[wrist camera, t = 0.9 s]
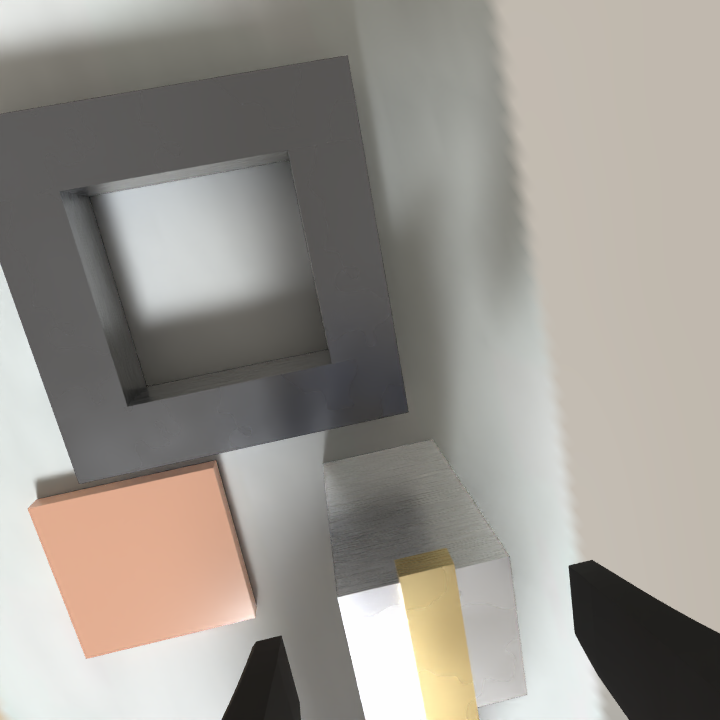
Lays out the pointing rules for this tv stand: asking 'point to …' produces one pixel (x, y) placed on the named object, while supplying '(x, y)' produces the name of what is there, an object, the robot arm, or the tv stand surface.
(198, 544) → the terracotta pad
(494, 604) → the steel key
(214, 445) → the charcoal socket
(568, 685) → the tv stand surface
